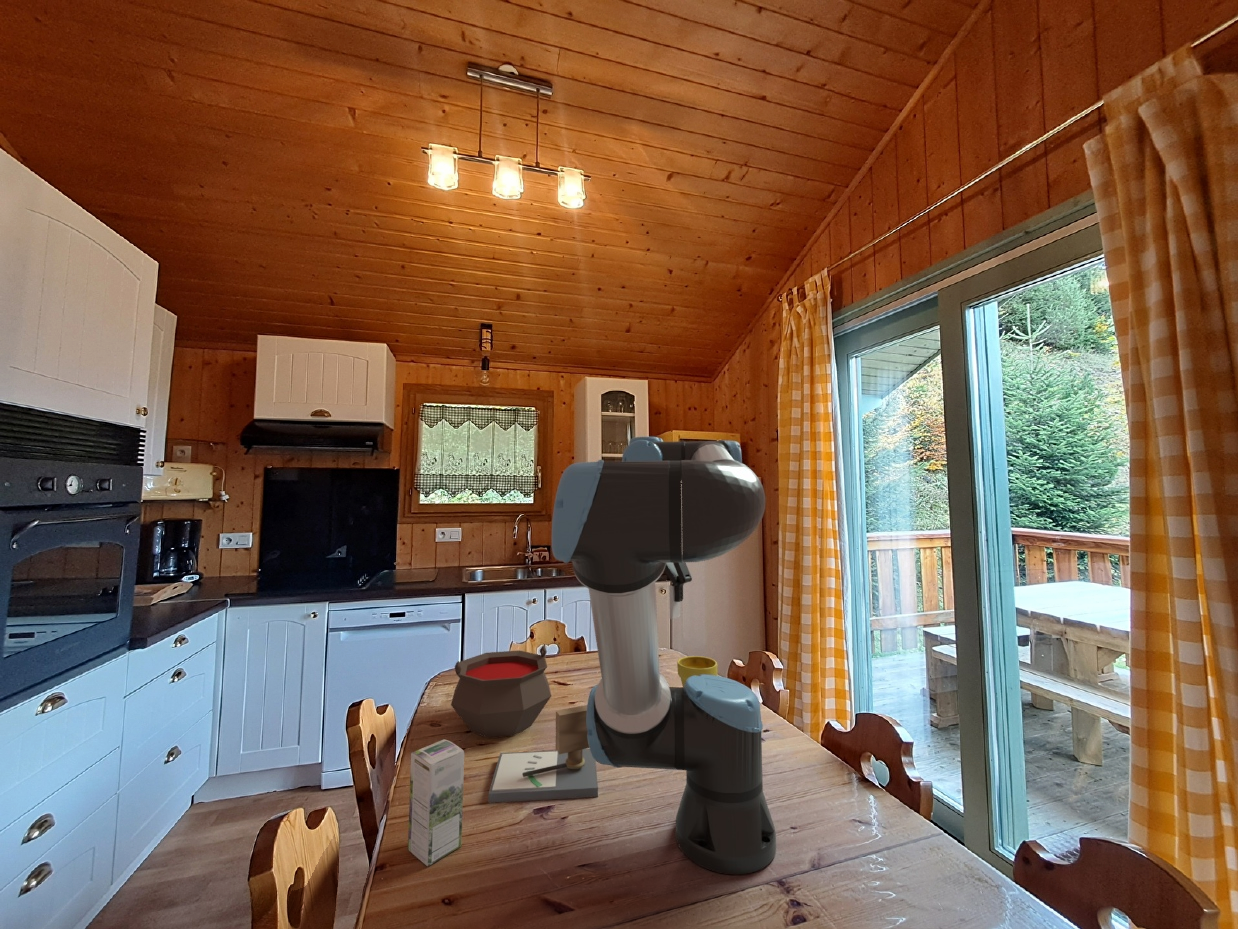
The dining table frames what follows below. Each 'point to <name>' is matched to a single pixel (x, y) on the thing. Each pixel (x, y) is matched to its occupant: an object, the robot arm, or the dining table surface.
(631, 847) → the dining table surface
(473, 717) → the brown soup pot
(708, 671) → the plant pot
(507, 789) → the tuner board
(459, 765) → the syrup box
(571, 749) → the wooden pointer lever
